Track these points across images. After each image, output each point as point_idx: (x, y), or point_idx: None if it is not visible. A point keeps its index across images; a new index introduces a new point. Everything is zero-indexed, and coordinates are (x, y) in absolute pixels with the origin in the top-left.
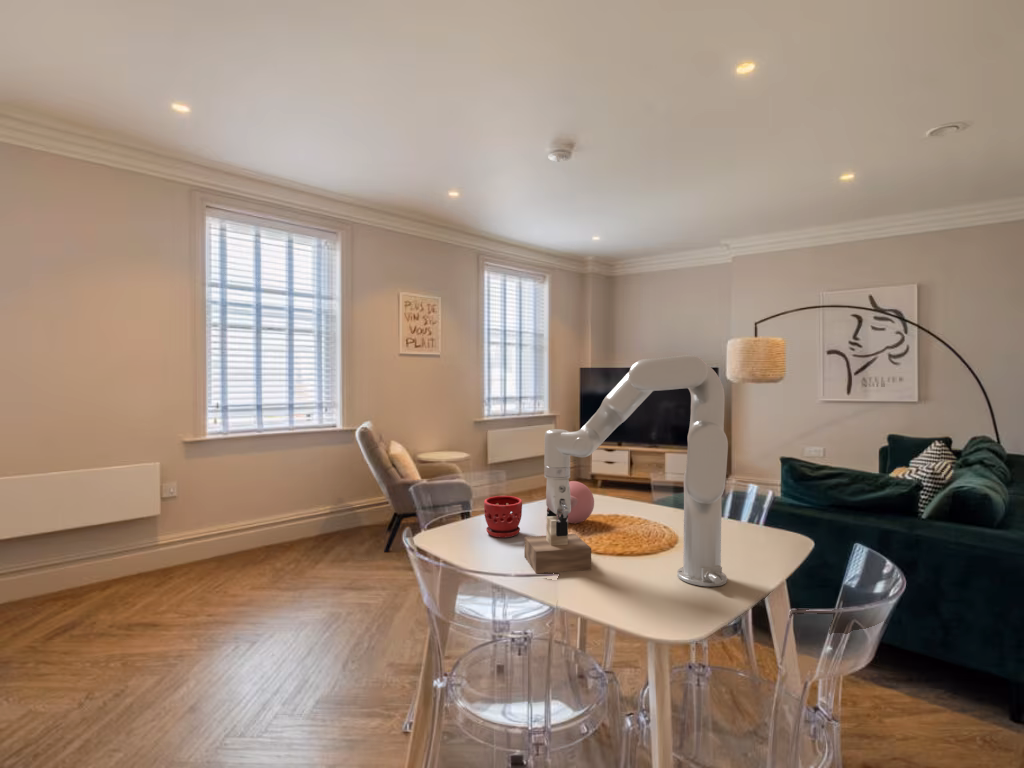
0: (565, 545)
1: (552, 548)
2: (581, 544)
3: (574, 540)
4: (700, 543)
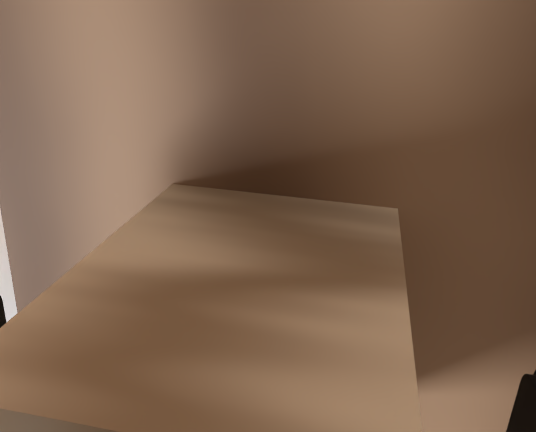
0: (430, 254)
1: (479, 426)
2: (472, 14)
3: (252, 45)
4: None
